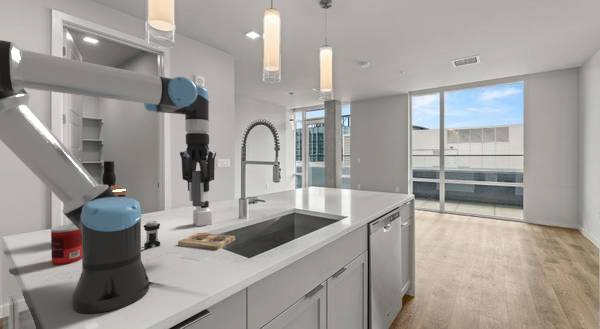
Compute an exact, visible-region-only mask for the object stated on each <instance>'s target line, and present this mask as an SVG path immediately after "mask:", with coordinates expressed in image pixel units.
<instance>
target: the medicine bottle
mask: <svg viewBox="0 0 600 329" xmlns="http://www.w3.org/2000/svg"><path fill="white" fill-rule="evenodd" d="M209 203H210V202H209V200H208V201H205V205H204V206H198V207H195V209H193V210H192V216H193V217H192V223H193V225H194V226H196V227H203V226H204V225H205V226H210V224H211V225H212V224H213V220H212V219H213V211H212V209H210V208H209V207H210V204H209Z"/></svg>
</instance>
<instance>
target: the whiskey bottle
mask: <svg viewBox="0 0 600 329" xmlns="http://www.w3.org/2000/svg"><path fill="white" fill-rule="evenodd" d="M116 179H117V178H116V173H115V162H114V161H113V160H105V161H103V174H102V184H103V185H108V186H109V187H110V188H111V189H112V190H113V191H114V193H115V194H116V195H117V196H118V197H126V194H127V189H126V188H124V187H123V186H120V185H117V184H116V182H117V181H116Z"/></svg>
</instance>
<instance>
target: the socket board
mask: <svg viewBox="0 0 600 329" xmlns="http://www.w3.org/2000/svg"><path fill="white" fill-rule="evenodd" d="M235 240H236V236H234V235H227V234H216V233H209V232H197V233H195V234H193V235H190V236H188V237H185V238H183V239H179V240H178V241H177V245H178V246H182V247H183V246H184V247H191V248H199V249H206V250H213V251H214V250H215V251H218V250H220V249H222V248H224V247H225V246H227V245H229V244H231V243H232V242H235Z"/></svg>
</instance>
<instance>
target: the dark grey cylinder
mask: <svg viewBox="0 0 600 329" xmlns="http://www.w3.org/2000/svg"><path fill="white" fill-rule="evenodd" d="M201 181H202V176H201V171H200V170H196V171H192V200H193V201H192V207H194V208H196V207H198V206H204V205H205V201H204V202H201V189H200V183H202V182H201Z"/></svg>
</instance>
